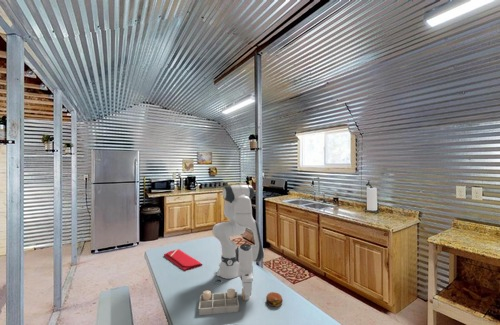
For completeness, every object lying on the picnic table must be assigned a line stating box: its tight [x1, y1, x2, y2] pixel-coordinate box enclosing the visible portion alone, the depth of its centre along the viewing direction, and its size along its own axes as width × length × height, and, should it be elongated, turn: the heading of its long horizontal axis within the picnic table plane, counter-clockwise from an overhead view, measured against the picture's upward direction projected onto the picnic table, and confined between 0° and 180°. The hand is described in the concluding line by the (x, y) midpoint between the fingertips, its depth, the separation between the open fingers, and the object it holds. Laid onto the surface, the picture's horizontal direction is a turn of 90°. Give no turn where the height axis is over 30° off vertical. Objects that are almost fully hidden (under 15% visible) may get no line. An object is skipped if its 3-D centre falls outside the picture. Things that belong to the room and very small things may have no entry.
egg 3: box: [241, 287, 251, 301], centre depth 143 cm, size 5×5×6 cm
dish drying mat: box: [163, 248, 203, 272], centre depth 201 cm, size 16×41×4 cm, turn 42°
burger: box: [266, 292, 284, 308], centre depth 140 cm, size 10×9×5 cm
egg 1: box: [202, 290, 212, 301], centre depth 139 cm, size 5×5×6 cm
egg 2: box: [226, 288, 236, 299], centre depth 140 cm, size 5×5×6 cm
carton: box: [198, 291, 240, 316], centre depth 136 cm, size 15×22×4 cm
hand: (245, 295), depth 143 cm, fingers open, 6 cm apart
